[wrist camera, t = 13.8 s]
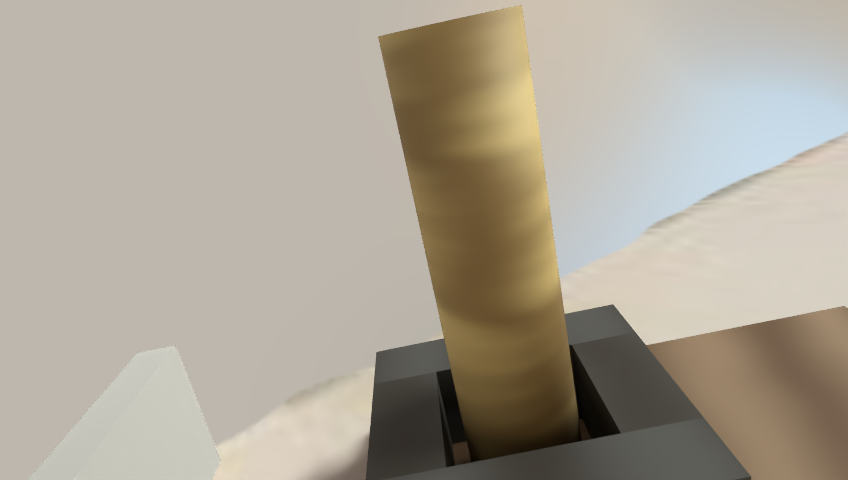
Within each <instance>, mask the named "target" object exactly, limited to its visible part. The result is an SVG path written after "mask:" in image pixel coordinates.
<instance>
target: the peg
mask: <svg viewBox="0 0 848 480" xmlns="http://www.w3.org/2000/svg"><path fill="white" fill-rule="evenodd" d="M378 38H379V42H380V47H381V51H382V56H383V61H384V66H385V70H386V75H387V79H388V84H389V88H390V93H391V98H392V102H393V106H394V111H395V116H396V120H397V125H398V130H399V134H400V139H401V143H402V148H403V152H404V157H405V162H406V166H407V170H408V175H409V180H410V184H411V189H412V193H413V198H414V203H415V207H416V212H417V216H418V221H419V225H420V230H421V235H422V239H423V244H424V248H425V253H426V258H427V262H428V267H429V271H430V276H431V280H432V285H433V290H434V294H435V299H436V303H437V308H438V312H439V316H440V322H441V326H442V331H443V335H444V340H445V344H446V349H447V354H448V358H449V363H450V367H451V372H452V376H453V381H454V386H455V390H456V395H457V399H458V404H459V408H460V413H461V418H462V422H463V427H464V431H465V436H466V440H467V445H468V450H469V454H470V459H471V462H476V461H481V460H487V459H492V458H497V457H502V456H507V455H512V454H518V453H523V452H528V451H533V450H538V449H543V448H548V447H554V446H559V445H564V444H569V443H574V442H579V441H582V438H581V431H580V424H579V416H578V409H577V402H576V394H575V387H574V380H573V373H572V365H571V358H570V351H569V344H568V336H567V329H566V322H565V315H564V307H563V300H562V293H561V286H560V278H559V272H558V264H557V257H556V250H555V242H554V235H553V228H552V221H551V214H550V206H549V199H548V192H547V184H546V177H545V170H544V163H543V155H542V149H541V141H540V133H539V126H538V119H537V112H536V104H535V98H534V90H533V83H532V75H531V68H530V61H529V54H528V46H527V40H526V32H525V25H524V17H523V11H522V6H521V5H520V6H515V7H510V8H505V9H500V10H495V11H490V12H486V13H481V14H476V15H472V16H467V17H462V18H459V19H453V20H449V21H444V22H440V23H435V24H431V25H426V26H422V27H418V28H413V29H408V30H404V31H400V32H395V33H391V34H387V35H383V36H379V37H378Z"/></svg>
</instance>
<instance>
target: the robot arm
mask: <svg viewBox="0 0 848 480" xmlns="http://www.w3.org/2000/svg"><path fill="white" fill-rule="evenodd" d="M220 460H221V459H220V457H219V454H218V452H217V449H216V447H215V444H214V442H213V439H212V437H211V434H210V432H209V429H208V426H207V424H206V421H205V419H204V416H203V414H202V411H201V409H200V406H199V404H198V401H197V398H196V396H195V393H194V391H193V388H192V386H191V383H190V381H189V378H188V376H187V373H186V371H185V368H184V365H183V363H182V360H181V358H180V355H179V353H178V350H177V348H176V346H170V347H165V348H160V349H155V350H150V351H145V352H140V353H137V354H136V355H135V356H134V358H133V359H132V360H131V361H130V362H129V363H128V365H127V366H126V367H125V368H124V369H123V370H122V371H121V373H120V374H119V375H118V376H117V377H116V379H115V380H114V381H113V382H112V383H111V384H110V385H109V387H108V388H107V389H106V390H105V391H104V392H103V394H102V395H101V396H100V397H99V398H98V399H97V400H96V402H95V403H94V404H93V405H92V406H91V407H90V409H89V410H88V411H87V412H86V413H85V414H84V416H83V417H82V418H81V419H80V420H79V421H78V423H77V424H76V425H75V426H74V427H73V428H72V430H71V431H70V432H69V433H68V434H67V435H66V436H65V438H64V439H63V440H62V441H61V442H60V443H59V445H58V446H57V447H56V448H55V449H54V450H53V452H52V453H51V454H50V455H49V456H48V457H47V458H46V460H45V461H44V462H43V463H42V464H41V465H40V467H39V468H38V469H37V470H36V471H35V472H34V474H33V475H32V476H31V477H30V478H29V479H28V480H212V478H213V476H214V474H215V471H216V469H217V467H218V465H219V462H220Z"/></svg>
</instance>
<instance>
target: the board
mask: <svg viewBox="0 0 848 480" xmlns="http://www.w3.org/2000/svg"><path fill="white" fill-rule="evenodd" d="M564 315H565V322H566V329H567V336H568V344H569V351H570V358H571V365H572V373H573V380H574V387H575V394H576V402H577V409H578V416H579V424H580V431H581V438H582V441H579V442H574V443H569V444H564V445H559V446H554V447H548V448H543V449H538V450H533V451H528V452H523V453H518V454H512V455H507V456H502V457H497V458H492V459H487V460H481V461H476V462H471V459H470V454H469V450H468V445H467V440H466V436H465V431H464V427H463V422H462V418H461V413H460V408H459V404H458V399H457V395H456V390H455V386H454V381H453V376H452V372H451V367H450V363H449V358H448V354H447V349H446V344H445V340H444V339H439V340H434V341H429V342H424V343H420V344H414V345H410V346H404V347H399V348H394V349H389V350H385V351H380V352H377V353H376V365H375V377H374V389H373V401H372V414H371V426H370V438H369V450H368V462H367V474H366V480H848V308H846V307H845V306H842V307H837V308H832V309H827V310H822V311H817V312H812V313H807V314H802V315H797V316H792V317H787V318H782V319H777V320H772V321H767V322H762V323H757V324H752V325H747V326H742V327H737V328H732V329H727V330H722V331H716V332H711V333H706V334H701V335H696V336H691V337H686V338H681V339H676V340H671V341H666V342H661V343H656V344H651V345H645V344H644V342H643V341H642V340H641V339H640V337H639V336H638V335H637V334H636V332H635V331H634V330H633V329H632V327H631V326H630V325H629V324H628V322H627V321H626V320H625V319H624V317H623V316H622V315H621V314H620V312H619V311H618V310H617V309H616V307H615V306H614V305H608V306H603V307H598V308H593V309H588V310H583V311H578V312H573V313H568V314H564Z"/></svg>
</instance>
